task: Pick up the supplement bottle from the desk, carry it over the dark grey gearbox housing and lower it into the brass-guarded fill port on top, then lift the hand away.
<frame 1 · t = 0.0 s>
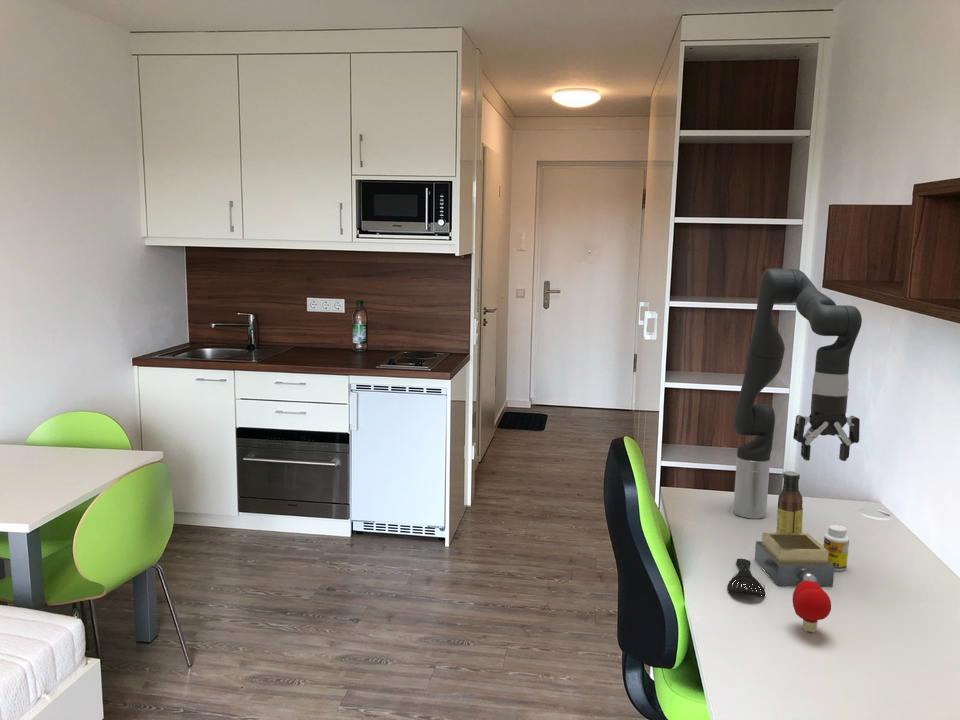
hand: (824, 459, 178), 29 cm above the table, tool pointing down, fingers open, 8 cm apart
sauce bottle: (787, 545, 203), on the table
supplement bottle: (834, 567, 189), on the table
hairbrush: (744, 582, 181), on the table
gearbox: (792, 573, 185), on the table
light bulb: (809, 632, 157), on the table
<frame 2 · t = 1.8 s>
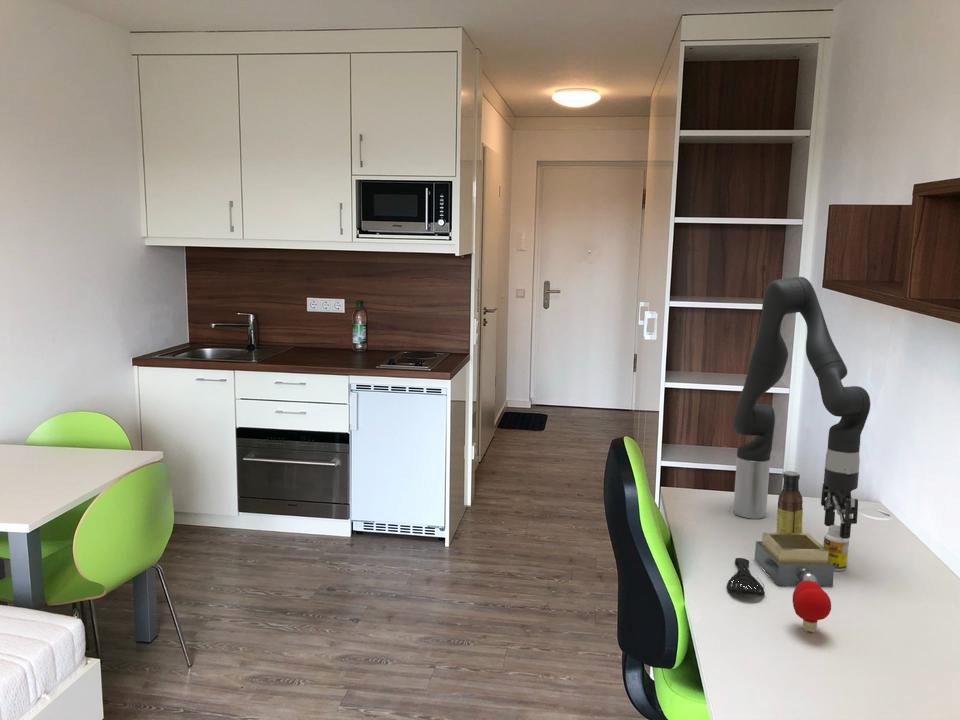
hand: (836, 531, 188), 9 cm above the table, tool pointing down, fingers open, 8 cm apart
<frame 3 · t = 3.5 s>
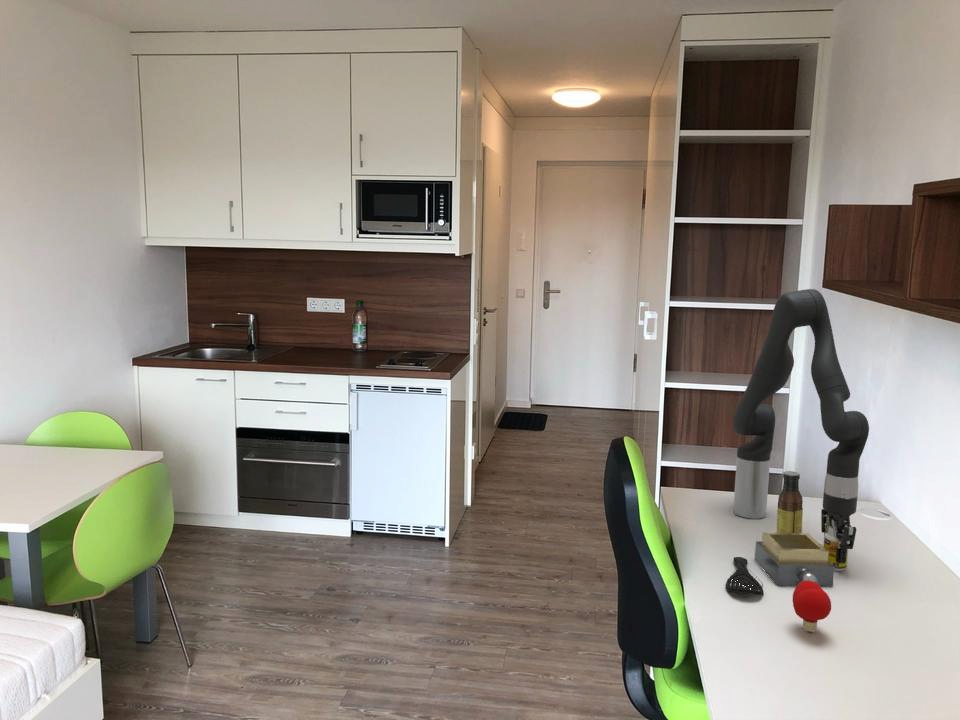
hand: (835, 557, 189), 3 cm above the table, tool pointing down, fingers closed on supplement bottle, 5 cm apart
supplement bottle: (834, 567, 189), on the table, touching gripper
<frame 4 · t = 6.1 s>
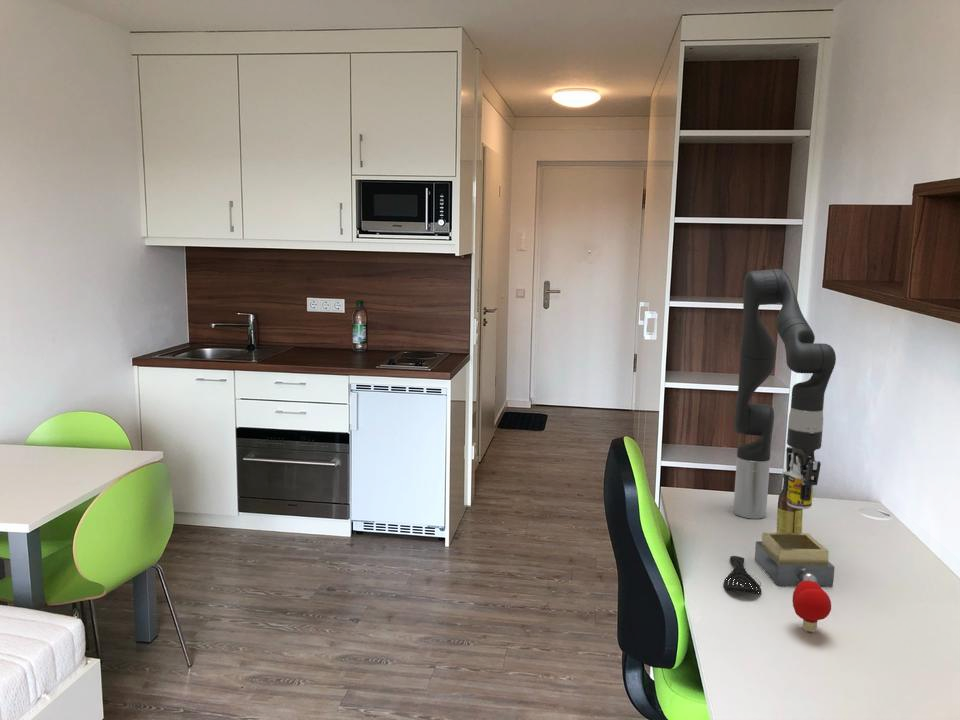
hand: (799, 495, 182), 20 cm above the table, tool pointing down, fingers closed on supplement bottle, 5 cm apart
supplement bottle: (798, 506, 183), point 17 cm above the table, touching gripper
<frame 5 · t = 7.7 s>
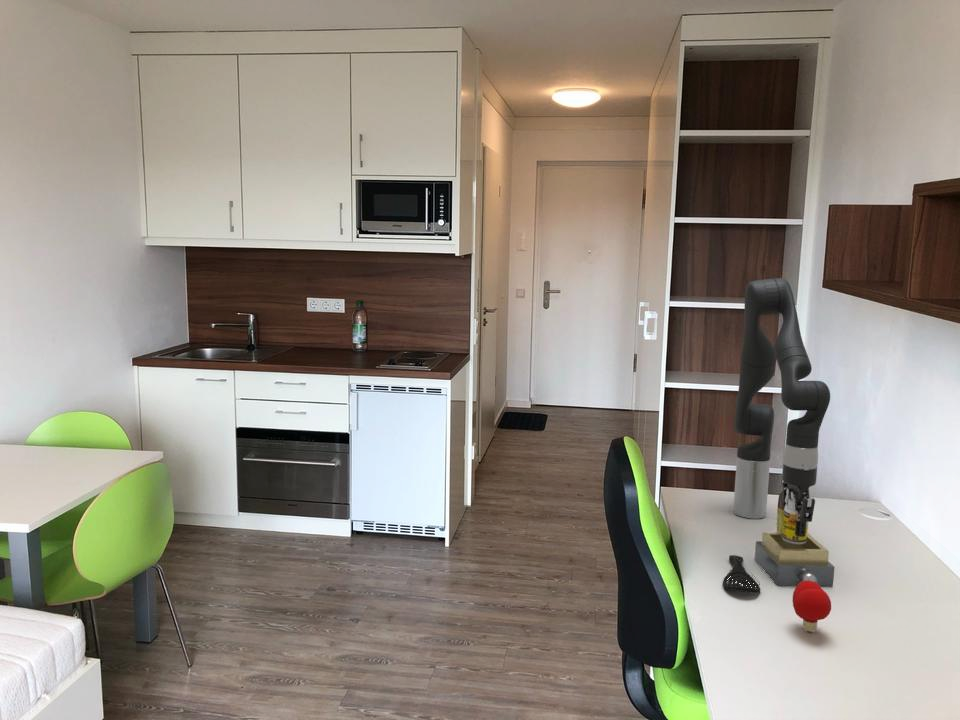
hand: (794, 531, 184), 11 cm above the table, tool pointing down, fingers closed on supplement bottle, 5 cm apart
supplement bottle: (794, 541, 184), point 8 cm above the table, touching gripper
when the fingers open (9 cm above the table, at t = 9.0 s): supplement bottle drops 1 cm, resting on gearbox.
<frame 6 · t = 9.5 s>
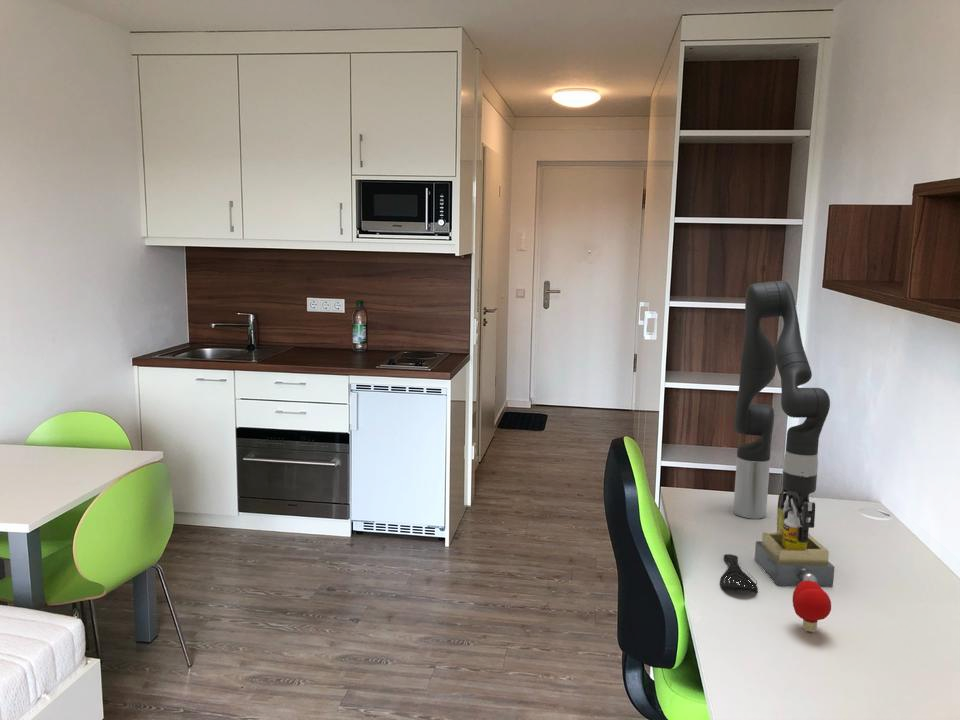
hand: (795, 535, 184), 10 cm above the table, tool pointing down, fingers open, 8 cm apart
supplement bottle: (793, 554, 185), point 5 cm above the table, touching gearbox
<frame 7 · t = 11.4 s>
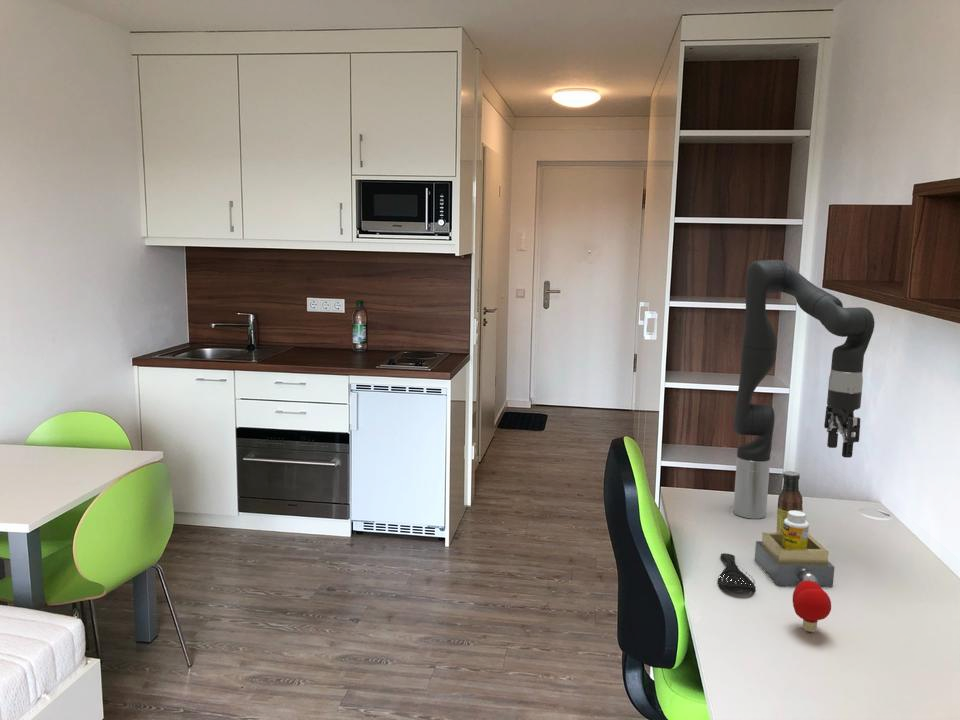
hand: (839, 452, 190), 28 cm above the table, tool pointing down, fingers open, 8 cm apart
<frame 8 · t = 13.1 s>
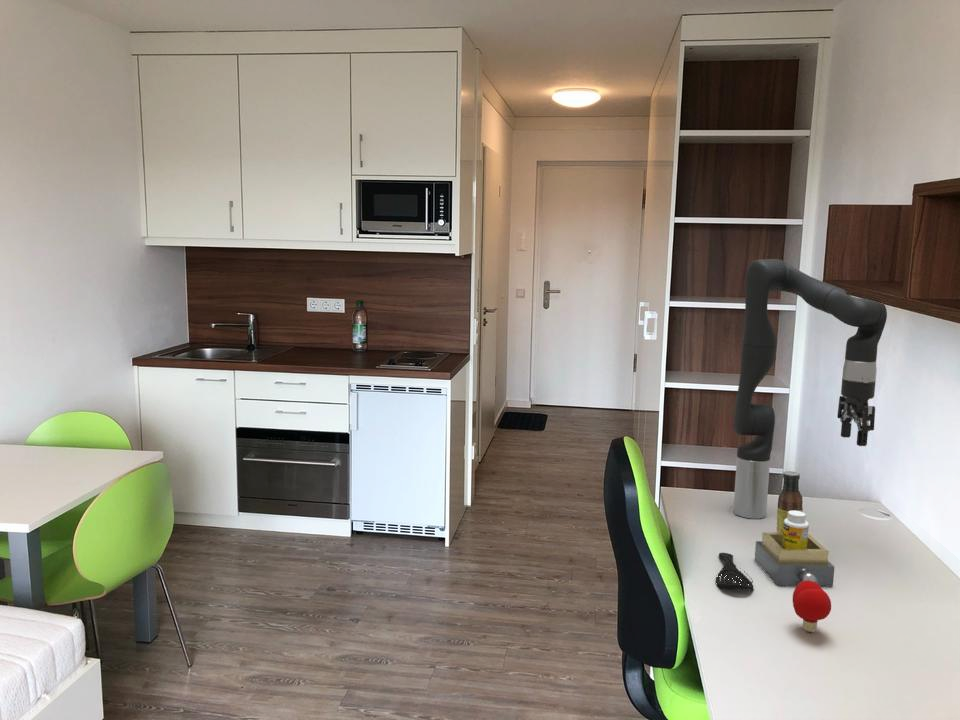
hand: (853, 441, 193), 30 cm above the table, tool pointing down, fingers open, 8 cm apart
at the end: supplement bottle 0.0 cm off-centre on the gearbox, point 4.8 cm above the gearbox's base; supplement bottle tilted 0°; the gripper is holding nothing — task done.
